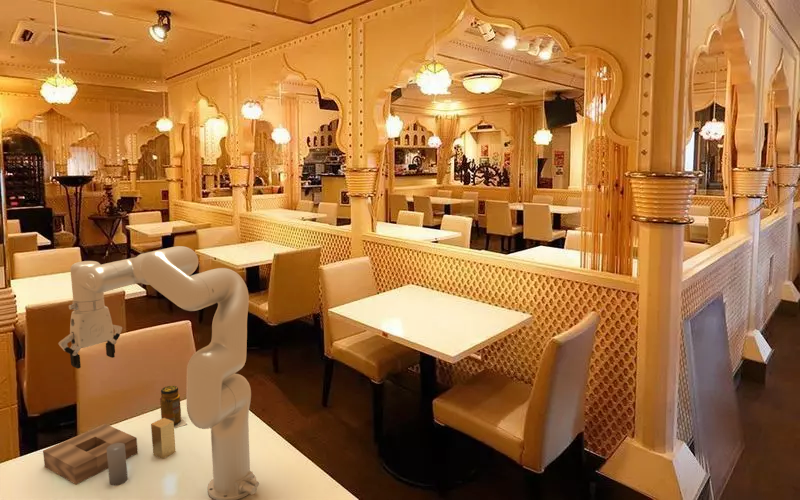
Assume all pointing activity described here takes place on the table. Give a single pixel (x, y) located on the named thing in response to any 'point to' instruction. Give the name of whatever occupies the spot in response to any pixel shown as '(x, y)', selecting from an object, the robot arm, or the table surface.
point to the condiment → (171, 405)
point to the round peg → (117, 463)
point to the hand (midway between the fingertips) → (94, 361)
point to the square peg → (163, 438)
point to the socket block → (87, 453)
